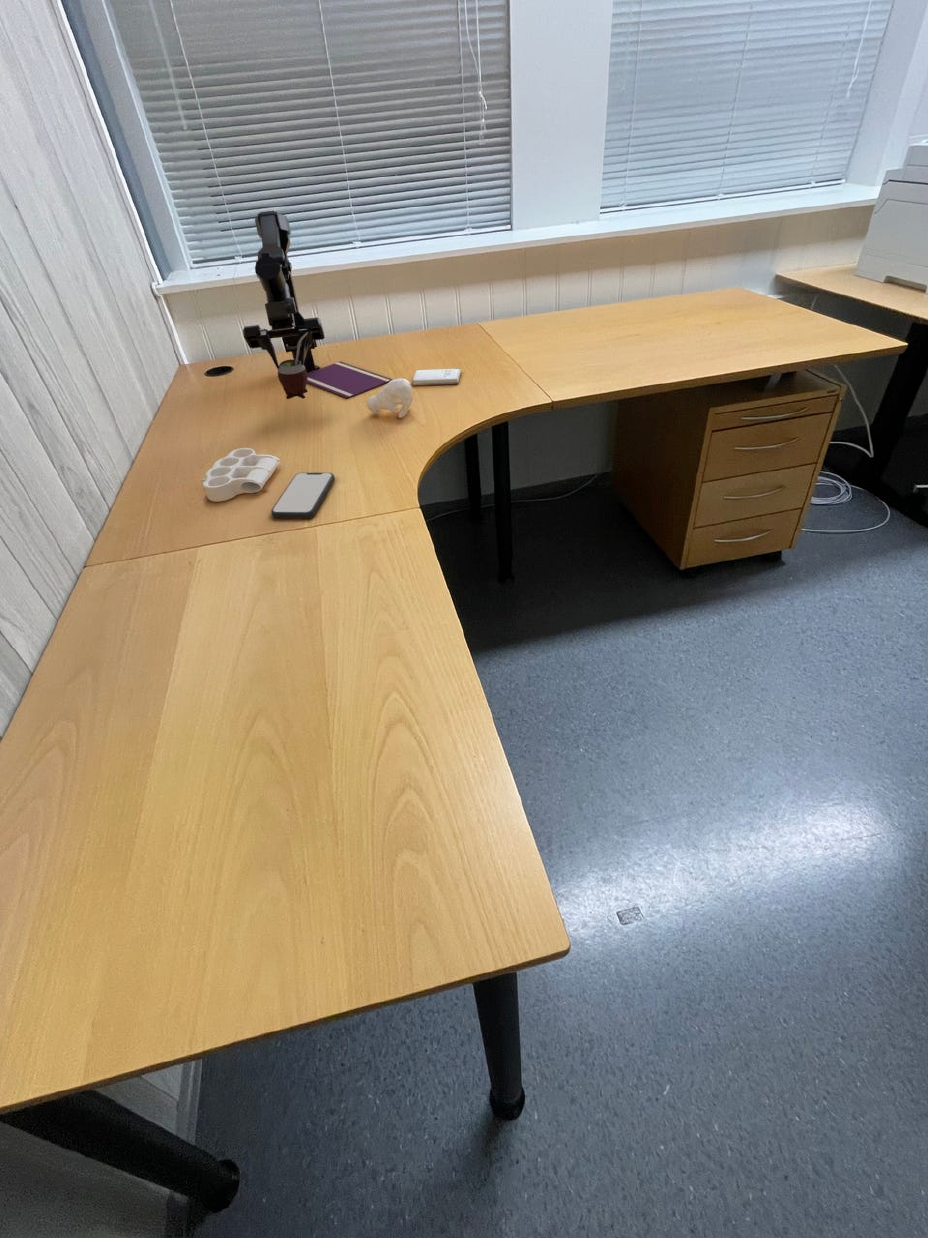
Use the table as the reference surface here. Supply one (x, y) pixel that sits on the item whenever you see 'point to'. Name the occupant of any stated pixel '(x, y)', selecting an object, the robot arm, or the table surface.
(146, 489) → the table surface
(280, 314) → the robot arm
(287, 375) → the mate gourd
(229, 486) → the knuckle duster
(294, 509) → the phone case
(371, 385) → the towel
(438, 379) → the hard drive
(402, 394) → the white animal figurine
